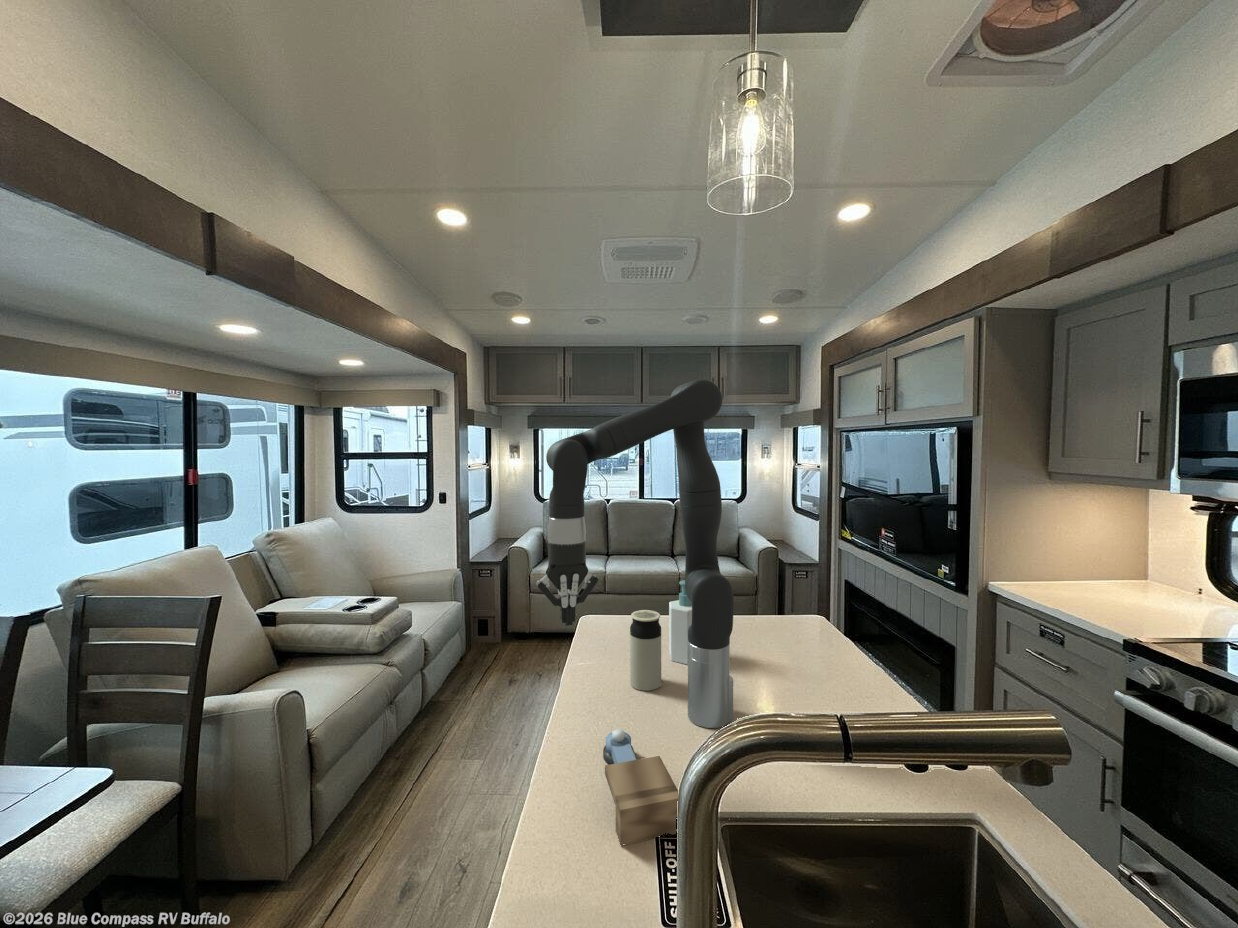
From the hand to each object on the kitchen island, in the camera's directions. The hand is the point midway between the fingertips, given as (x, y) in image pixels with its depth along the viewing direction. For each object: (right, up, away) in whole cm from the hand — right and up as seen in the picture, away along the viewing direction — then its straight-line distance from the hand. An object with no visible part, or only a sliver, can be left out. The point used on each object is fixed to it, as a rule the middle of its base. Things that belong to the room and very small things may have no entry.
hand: (567, 624), depth 96 cm
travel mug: (+17, -24, +26) cm, 40 cm away
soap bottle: (+30, -24, +42) cm, 56 cm away
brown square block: (+14, -25, -17) cm, 34 cm away
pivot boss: (+10, -25, -3) cm, 27 cm away
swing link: (+12, -24, -8) cm, 28 cm away
